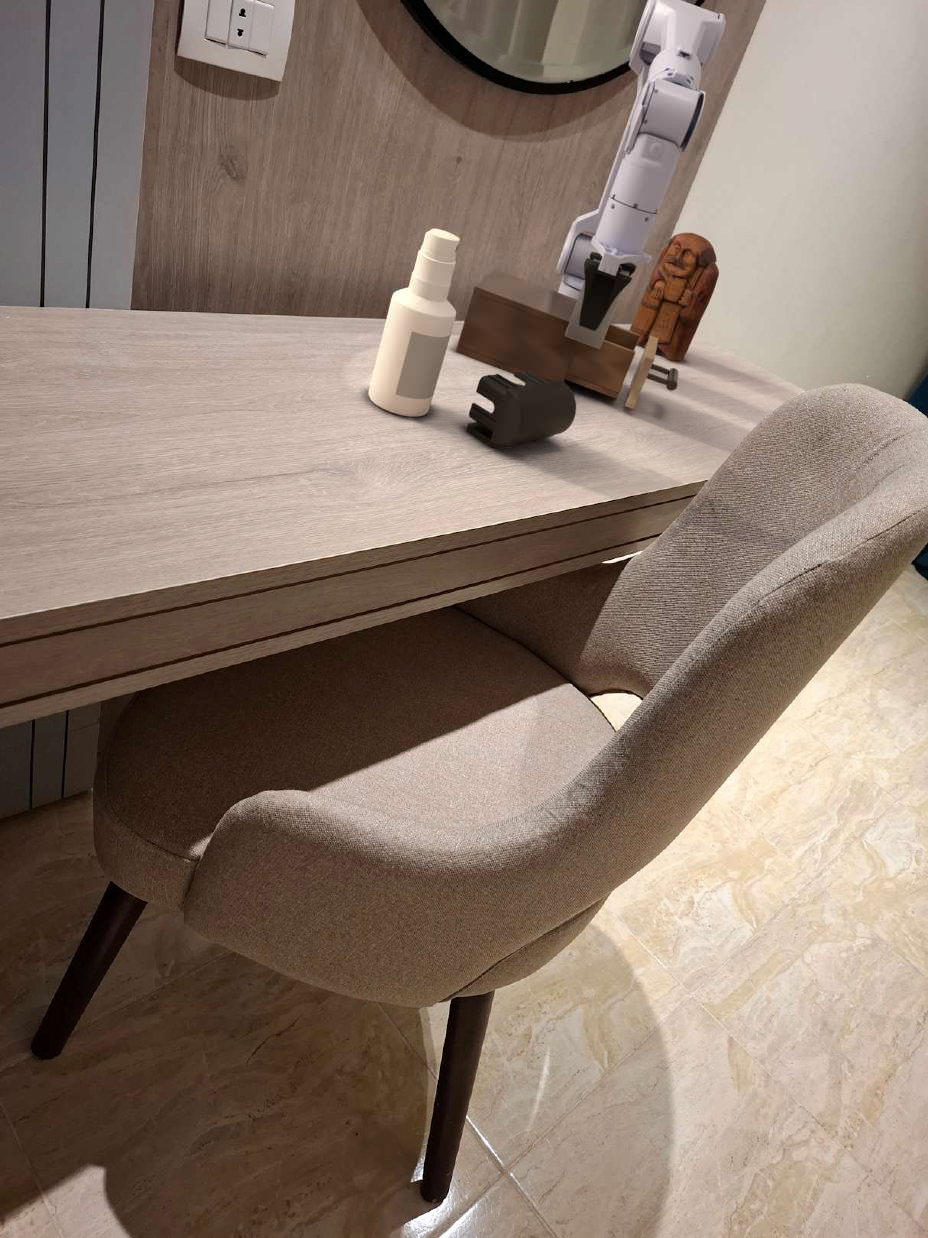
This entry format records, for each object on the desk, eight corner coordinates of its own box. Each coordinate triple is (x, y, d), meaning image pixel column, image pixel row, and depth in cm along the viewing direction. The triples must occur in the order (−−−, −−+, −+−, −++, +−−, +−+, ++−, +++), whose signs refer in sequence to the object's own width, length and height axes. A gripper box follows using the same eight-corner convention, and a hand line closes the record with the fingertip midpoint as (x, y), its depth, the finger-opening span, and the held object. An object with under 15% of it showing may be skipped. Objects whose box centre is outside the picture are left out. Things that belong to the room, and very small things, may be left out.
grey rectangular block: (568, 328, 110) (595, 253, 105) (603, 341, 110) (631, 267, 105) (564, 336, 107) (591, 259, 102) (600, 349, 107) (629, 273, 102)
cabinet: (572, 365, 128) (594, 305, 123) (560, 390, 117) (583, 326, 113) (476, 329, 128) (494, 268, 124) (455, 351, 118) (474, 286, 113)
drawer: (667, 395, 126) (687, 348, 123) (663, 420, 117) (685, 371, 113) (549, 350, 127) (565, 303, 123) (535, 372, 118) (553, 322, 114)
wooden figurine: (614, 333, 149) (658, 220, 139) (633, 331, 154) (677, 222, 144) (673, 364, 144) (723, 249, 134) (691, 361, 149) (740, 250, 139)
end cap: (509, 461, 94) (530, 401, 90) (461, 429, 97) (479, 370, 94) (563, 449, 101) (585, 393, 98) (517, 419, 104) (536, 364, 101)
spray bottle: (420, 424, 95) (470, 251, 85) (359, 402, 95) (402, 227, 85) (434, 404, 101) (482, 240, 91) (377, 383, 101) (418, 217, 91)
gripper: (665, 225, 94) (616, 350, 101) (669, 209, 106) (625, 321, 113) (601, 202, 94) (557, 328, 101) (613, 188, 106) (572, 301, 114)
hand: (589, 323), depth 107 cm, fingers closed on grey rectangular block, 4 cm apart
